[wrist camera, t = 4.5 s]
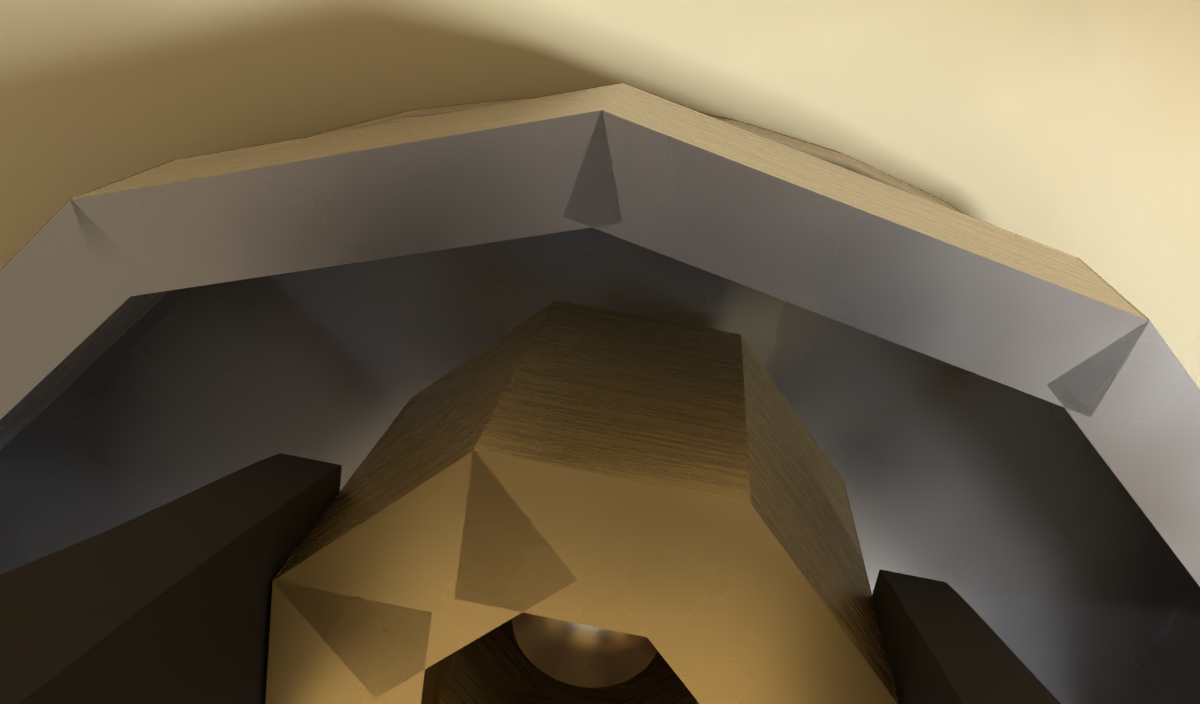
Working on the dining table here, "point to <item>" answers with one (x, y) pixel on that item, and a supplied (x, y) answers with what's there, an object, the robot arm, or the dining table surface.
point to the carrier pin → (581, 651)
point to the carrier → (635, 286)
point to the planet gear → (586, 533)
